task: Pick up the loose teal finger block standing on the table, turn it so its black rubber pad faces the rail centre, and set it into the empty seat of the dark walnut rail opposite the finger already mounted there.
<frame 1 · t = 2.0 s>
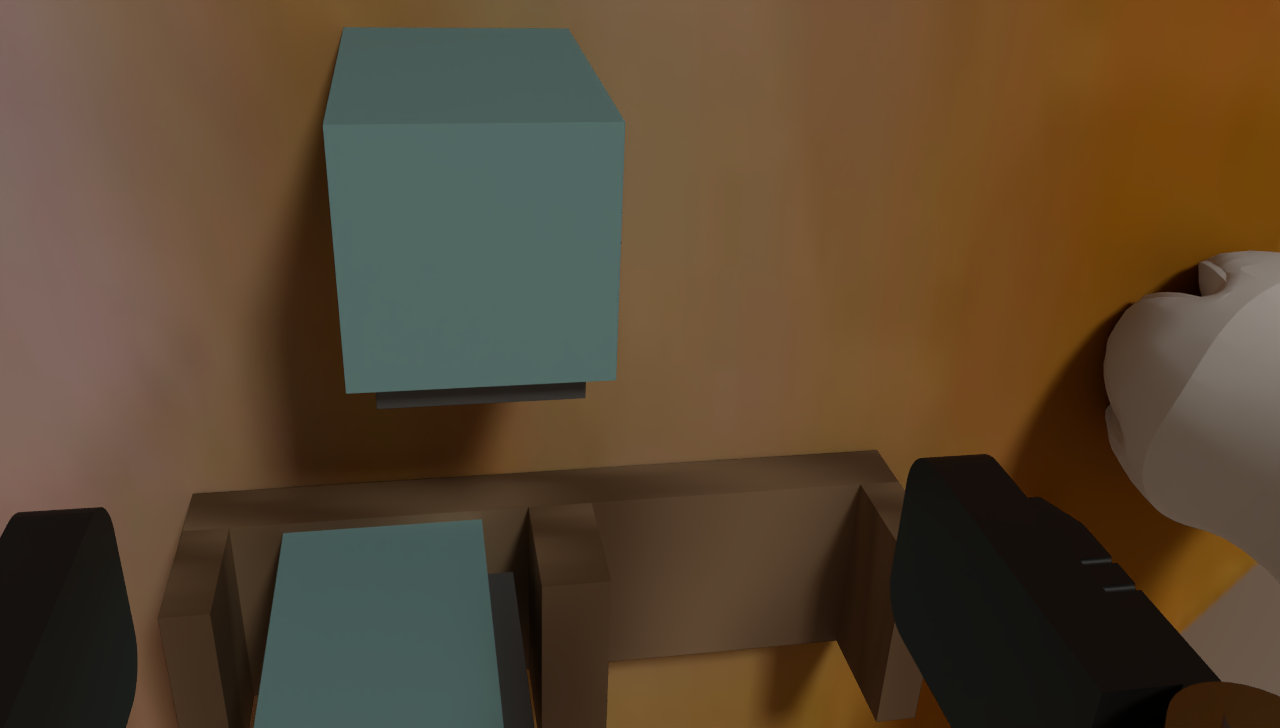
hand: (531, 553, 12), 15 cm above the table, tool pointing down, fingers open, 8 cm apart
water bottle: (1188, 346, 31), on the table
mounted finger: (389, 603, 28), resting on rail
rail: (552, 552, 30), on the table
loose finger: (461, 136, 24), on the table
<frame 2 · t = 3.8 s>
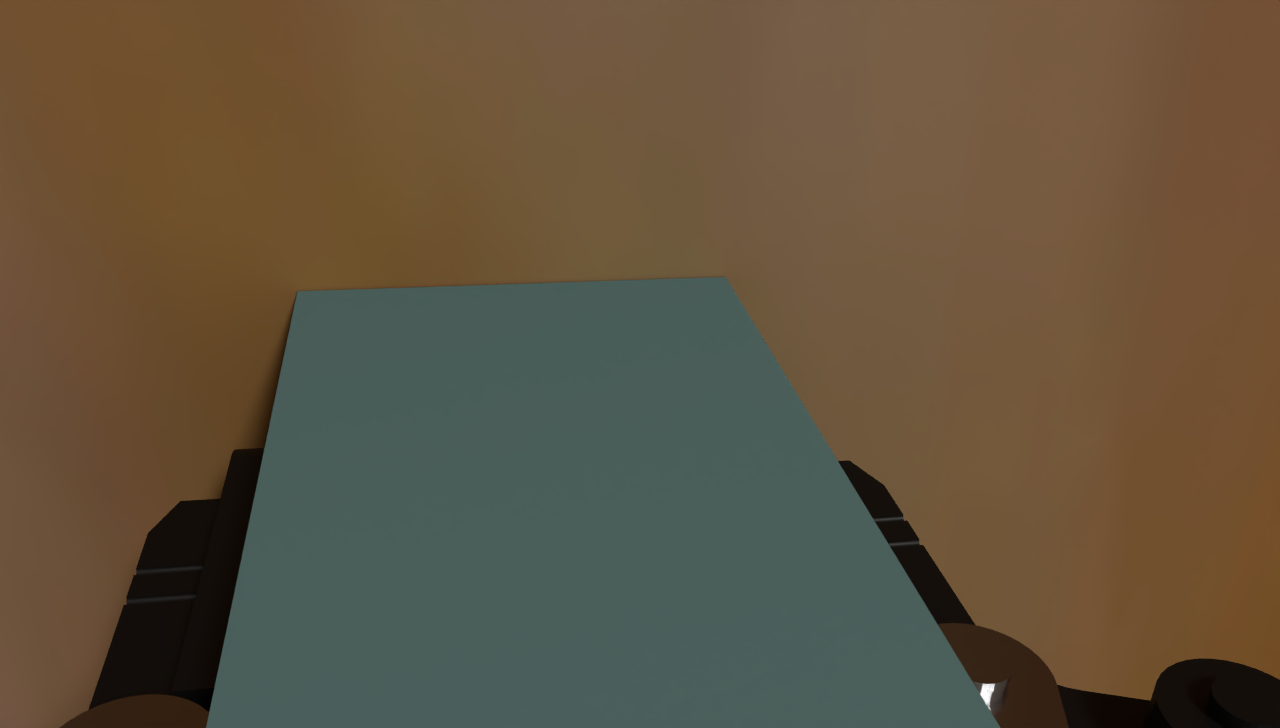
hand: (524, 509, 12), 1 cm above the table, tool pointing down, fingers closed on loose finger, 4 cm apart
loose finger: (520, 464, 13), on the table, touching gripper
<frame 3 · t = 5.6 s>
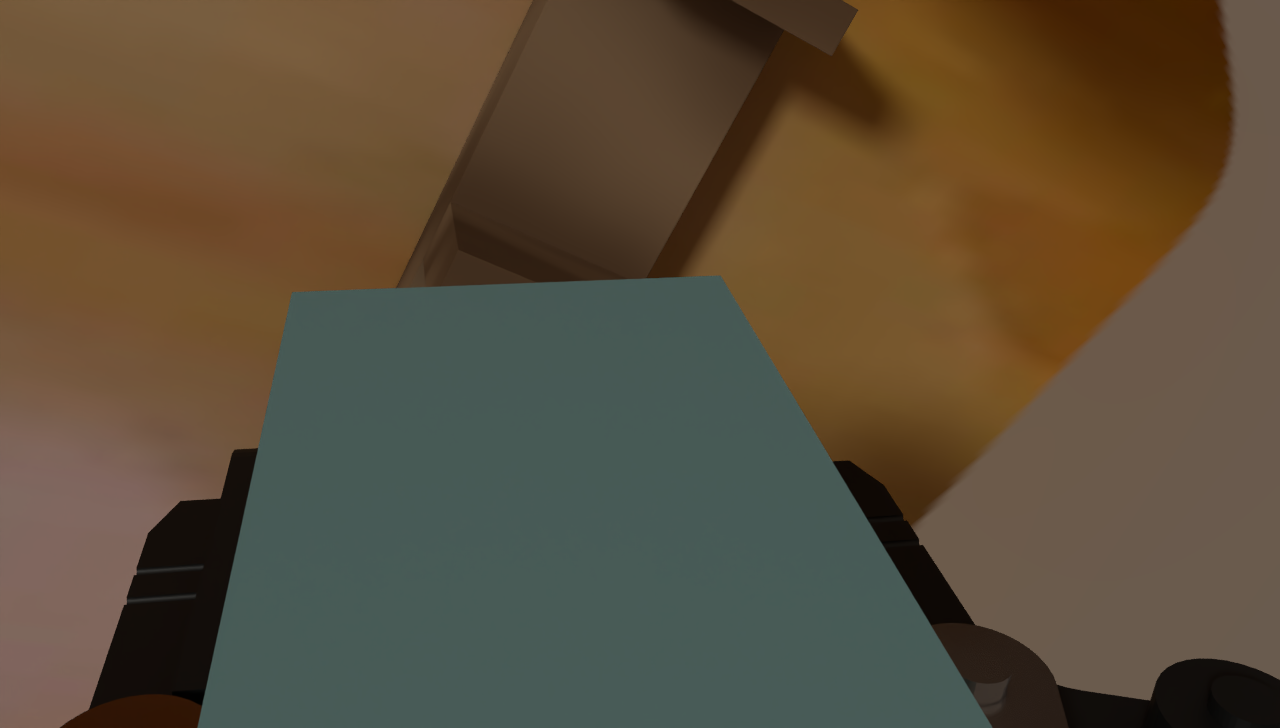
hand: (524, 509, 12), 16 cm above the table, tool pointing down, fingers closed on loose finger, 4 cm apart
rail: (528, 249, 28), on the table
loose finger: (516, 464, 13), point 15 cm above the table, touching gripper
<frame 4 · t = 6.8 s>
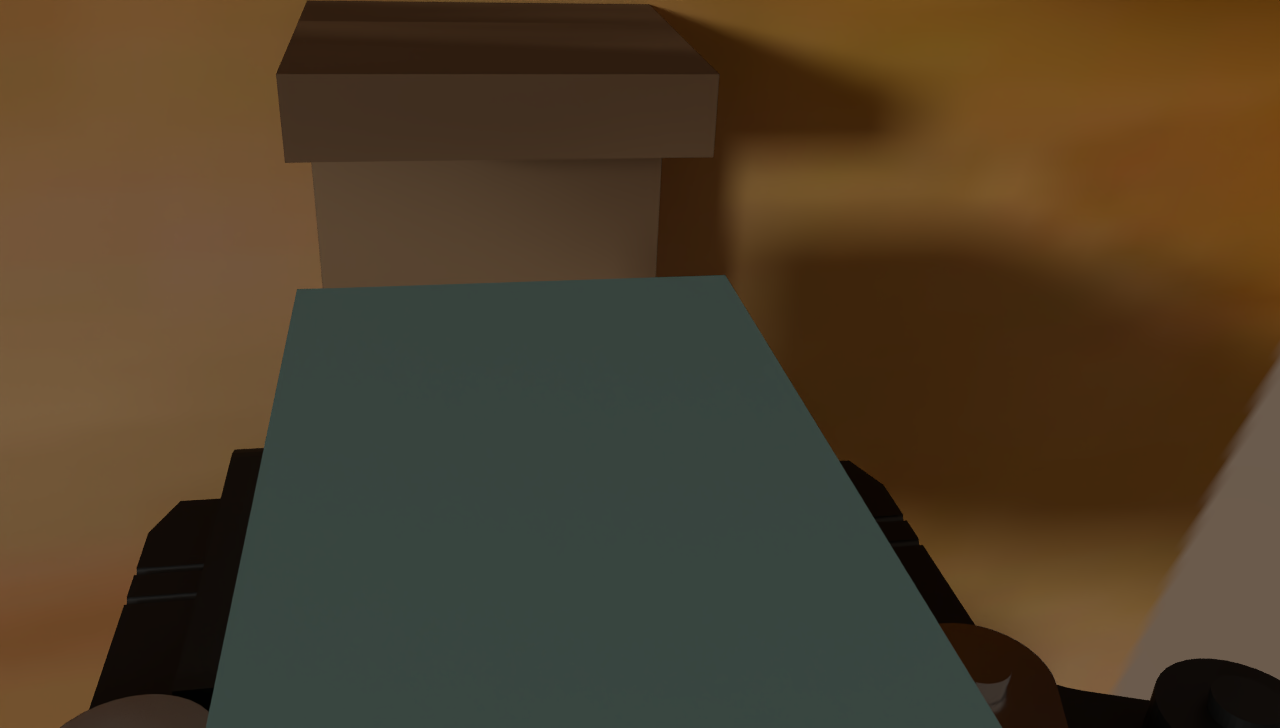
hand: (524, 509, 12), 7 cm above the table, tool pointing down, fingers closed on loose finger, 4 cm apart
rail: (492, 487, 21), on the table
loose finger: (519, 462, 13), point 6 cm above the table, touching gripper
when the fingers open (4 cm above the table, at t = 7.7 s): loose finger drops 1 cm, resting on rail.
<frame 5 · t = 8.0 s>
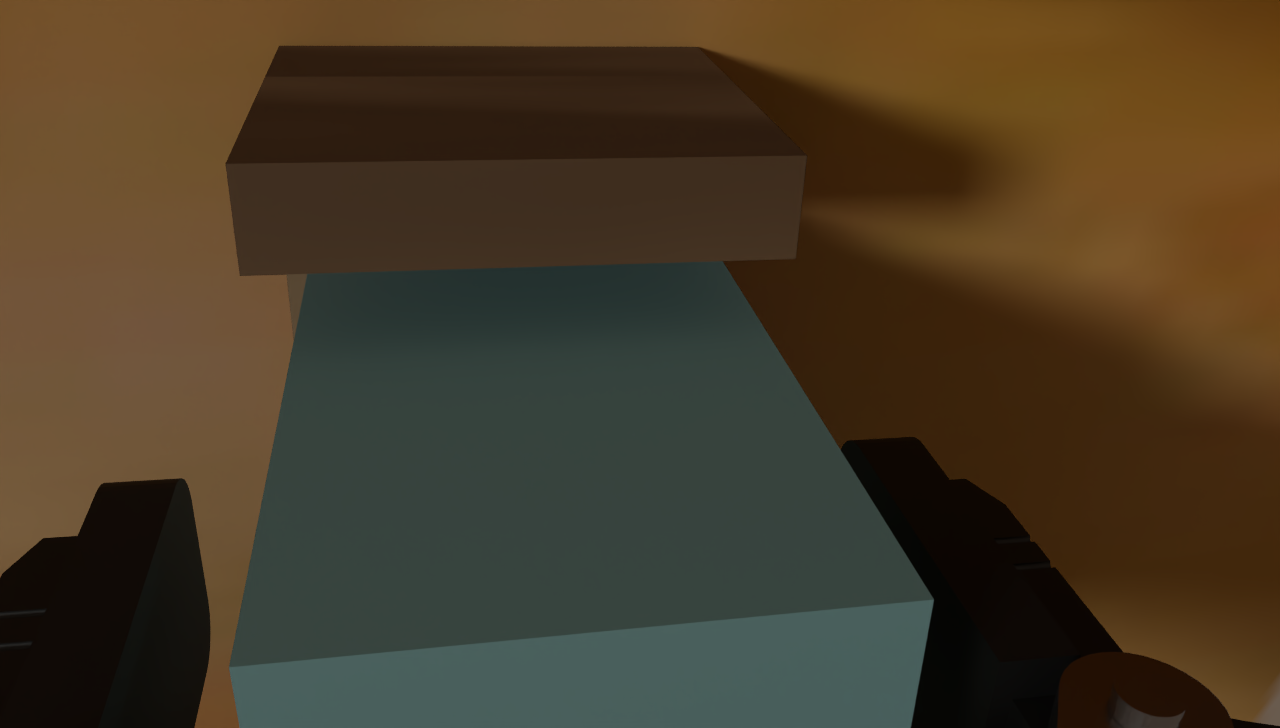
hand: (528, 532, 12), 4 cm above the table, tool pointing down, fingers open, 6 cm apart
rail: (504, 606, 18), on the table
loose finger: (517, 403, 14), point 1 cm above the table, touching rail
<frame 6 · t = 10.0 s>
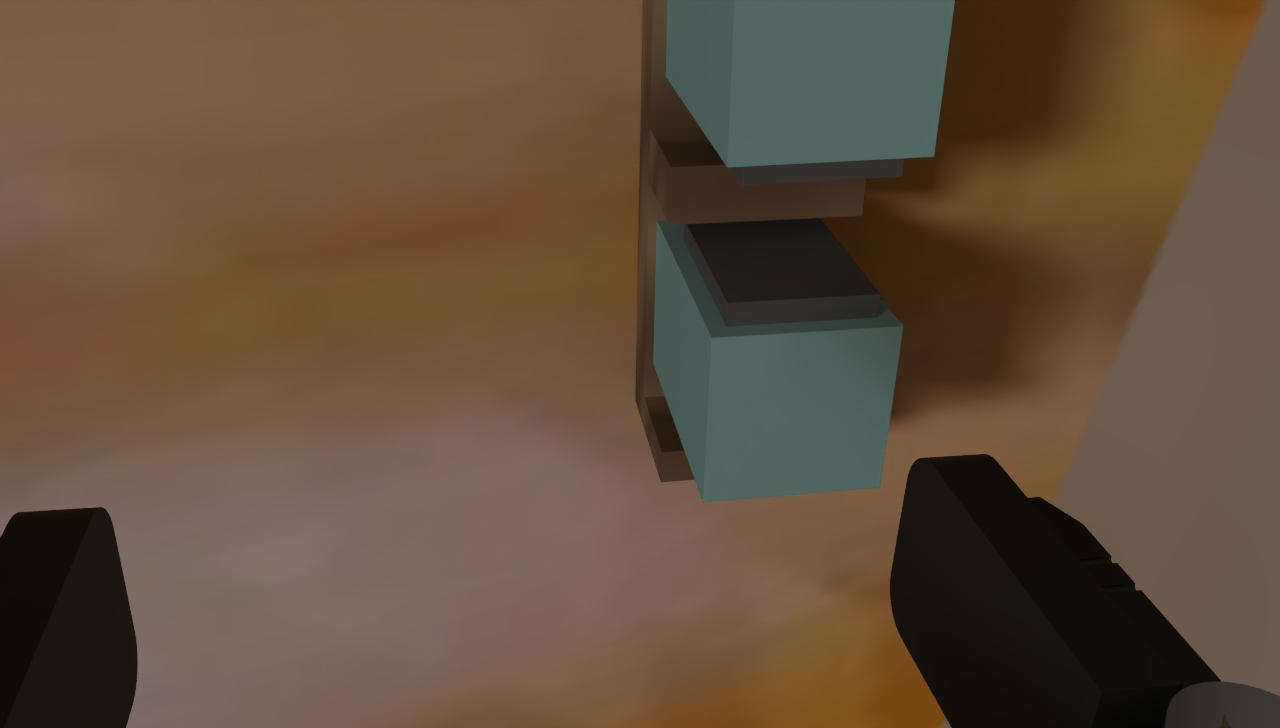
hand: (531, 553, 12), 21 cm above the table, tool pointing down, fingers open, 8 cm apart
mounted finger: (731, 290, 33), resting on rail
rail: (727, 135, 33), on the table
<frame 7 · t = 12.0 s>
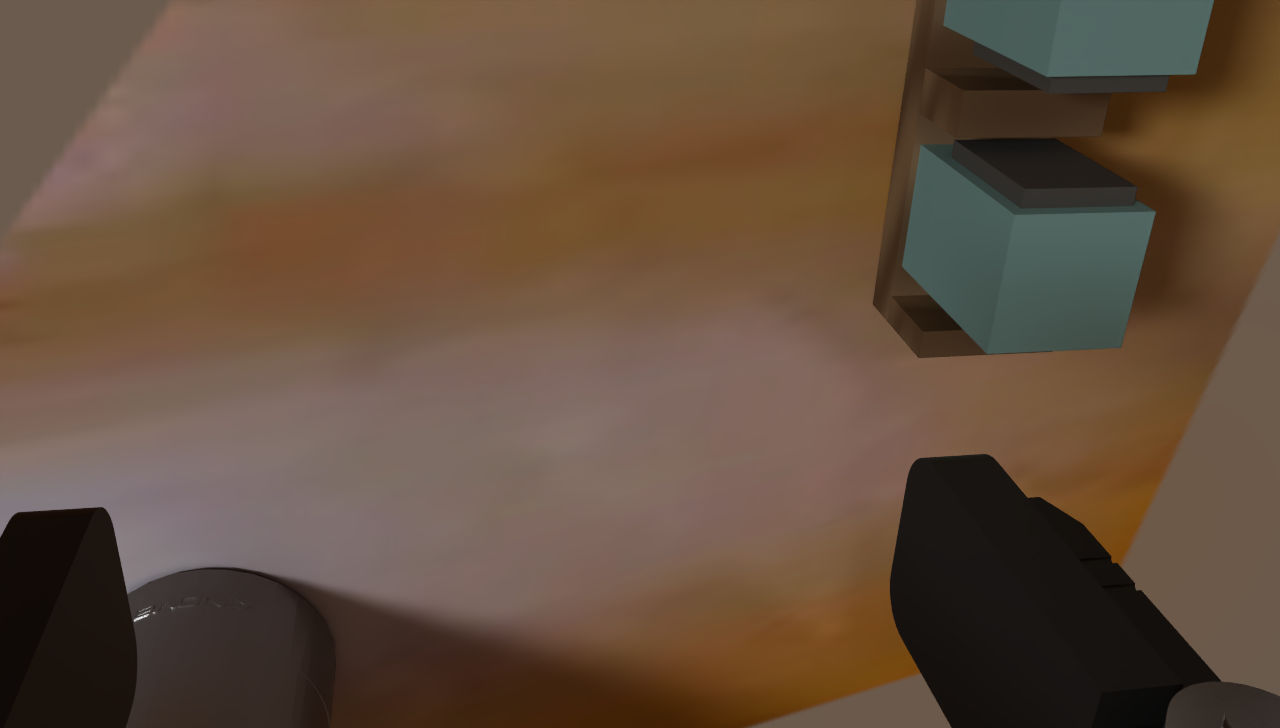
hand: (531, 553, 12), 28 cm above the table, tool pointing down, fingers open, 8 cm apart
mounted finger: (971, 205, 41), resting on rail
rail: (973, 79, 40), on the table
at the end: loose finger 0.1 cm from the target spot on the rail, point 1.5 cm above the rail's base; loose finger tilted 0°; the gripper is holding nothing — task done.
